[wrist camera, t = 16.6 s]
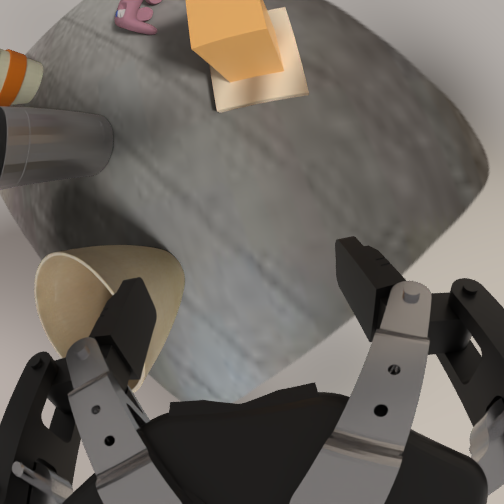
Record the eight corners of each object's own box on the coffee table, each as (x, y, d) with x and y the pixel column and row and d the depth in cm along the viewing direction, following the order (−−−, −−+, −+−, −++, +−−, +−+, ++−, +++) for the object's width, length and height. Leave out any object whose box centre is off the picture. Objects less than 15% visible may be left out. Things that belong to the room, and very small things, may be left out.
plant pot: (229, 314, 35) (174, 399, 20) (144, 328, 39) (78, 390, 25) (187, 201, 32) (91, 229, 17) (105, 237, 37) (19, 272, 22)
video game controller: (173, -11, 25) (136, -27, 20) (189, -17, 23) (150, -36, 17) (143, 39, 29) (103, 25, 23) (157, 36, 26) (113, 20, 21)
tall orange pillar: (230, 82, 26) (191, 49, 17) (222, 40, 25) (185, -1, 15) (284, 71, 25) (267, 28, 15) (274, 28, 23) (253, -21, 14)
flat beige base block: (220, 112, 28) (198, 101, 23) (206, 30, 25) (185, 9, 20) (308, 95, 26) (306, 77, 20) (286, 11, 23) (278, -16, 17)
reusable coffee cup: (47, 93, 33) (-19, 88, 19) (16, 122, 36) (-40, 124, 22) (50, 43, 30) (-7, 31, 16) (19, 74, 33) (-32, 71, 19)
